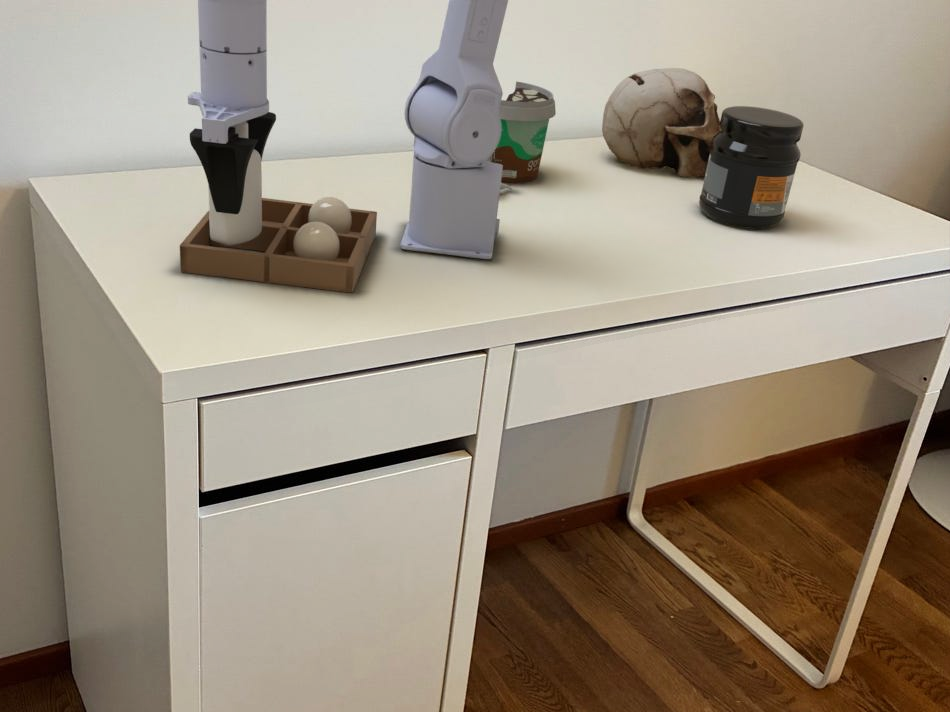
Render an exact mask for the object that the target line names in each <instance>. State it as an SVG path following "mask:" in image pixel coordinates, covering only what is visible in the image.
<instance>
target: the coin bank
mask: <svg viewBox="0 0 950 712" xmlns="http://www.w3.org/2000/svg"><path fill="white" fill-rule="evenodd" d="M715 99H716V95H715V94H714V93H713V92H712V91H711V90H710V87H709V85H708V84H707V82H706V80H705V79H704V78H702V76H700V75H699V74H698V73H696V72H694V71H692V70H689V69H686V68H678V67H668V68H652V69H646V70H643V71H638V72H635V73H633V74H631V75H628V76H626V77H625V78H624V79H622V80H621V81H620V82H619V83H618V84H617V85H616V87H615V88H614V89H613V91H612V92H611V94H610V96H609V97H608V99H607V100H606V103H605V106H604V109H603V115H602V125H601V132H602V136H603V139H604V141H605V143H606V145H607V147H608V149H609V150H610V151H611V153H612V154H613V155H615V158H616V159H617V160H618V161H619V162H620V163H623V164H625V165H629V166H630V167H636V168H637V169H664V168H666V167H667V168H669V169H672V170H674V171H675V172H676V175H678V176H680V177H684V178H687V177H690V176H694V177H700V178H705V174H706V169H707V165H708V160H709V156H710V151H711V141H712V138H713V137H714V136H715V135H716V134H717V133H718V132H719V131H721V129H720V127H719V125H720V120H721V118H720V117H719V113H718V104H717V103H715Z"/></svg>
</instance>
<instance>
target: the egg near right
mask: <svg viewBox="0 0 950 712" xmlns="http://www.w3.org/2000/svg"><path fill="white" fill-rule="evenodd" d="M293 249H294V252H295V255H296V257H301V258H309V259H318V260H326V261H335V260H336V258H337V257H338V254H339V250H340V242H339V238H338V236H337V234H336V232H335V231H334V230H333V229H332V228H331V227H330V226H329V225H327V224H325V223H322V222H309V223H307V224H305V225H303V226H302V227H300V228H299V230H298V231H297V232H296V234H295V237H294V240H293Z"/></svg>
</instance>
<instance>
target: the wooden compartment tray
mask: <svg viewBox="0 0 950 712" xmlns="http://www.w3.org/2000/svg"><path fill="white" fill-rule="evenodd" d="M313 204H314V203H308V202H300V201H291V200H284V199H276V198H269V197H268V198H267V197H262V231H261V233H260V234H259V235H258V236H257V237H256V238H254V239H252V240H250V241H247V242H244V243H240V244H235V245H225V244H222V243H218V242H215V241H213V240H211V238H210V222H209V210H208V211H207V212H206V213H205V214H204V215H203V217H202V218H201V219H200V220H199V222H198V223H197V224H196V225H195V226H194V227H193V229H192V230H191V231H190V232H189V233H188V235H186V237H185V238H184V239H183V241H182V242H181V243H180V244H179V259H180V260H179V261H180V264H179V265H180V273H186V274H195V275H203V276H212V277H219V278H227V279H236V280H244V281H253V282H261V283H268V284H275V285H276V284H277V285H286V286H292V287H301V288H309V289H316V290H317V289H318V290H326V291H336V292H342V293H350V294H353V293H354V290H355V288H356V285H357V283H358V280H359V277H360V276H361V273H362V271H363V268H364V266H365V263H366V260H367V258H368V256H369V253H370V251H371V249H372V246H373V243H374V241H375V239H376V236H377V217H378V212H377V211H373V210H365V209H357V208H350V207H348V208H349V210H350V212H351V215H352V225H351V229H350V231H349V232H348V234H343V233H336V234H337V236H338V238H339V242H340V250H339V254H338V257H337V258H336V260H335V261H326V260H318V259H309V258H301V257H296V255H295V252H294V249H293V240H294V237H295V234H296V232H297V231H298V230H299V228H300V227H302V226H303V225H305V224H307V223H308V215H309V211H310V209H311V207H312V205H313Z"/></svg>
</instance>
